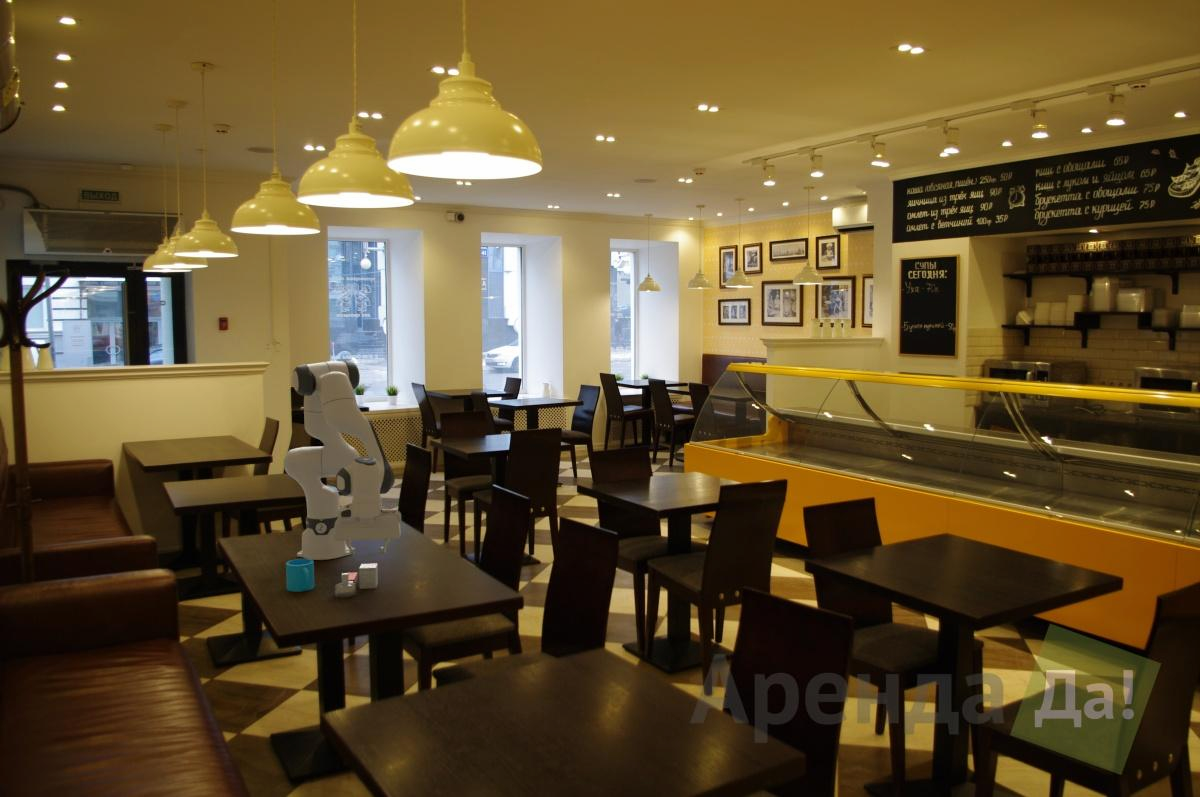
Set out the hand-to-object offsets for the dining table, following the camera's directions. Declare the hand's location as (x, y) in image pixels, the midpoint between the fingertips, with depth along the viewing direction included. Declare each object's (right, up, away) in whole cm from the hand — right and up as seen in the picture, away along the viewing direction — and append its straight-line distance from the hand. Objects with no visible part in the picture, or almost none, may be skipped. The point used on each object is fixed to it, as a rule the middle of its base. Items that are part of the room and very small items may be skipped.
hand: (367, 553), depth 279 cm
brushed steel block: (0, -11, +1) cm, 11 cm away
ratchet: (-6, -11, -1) cm, 12 cm away
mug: (-20, -11, -2) cm, 23 cm away
